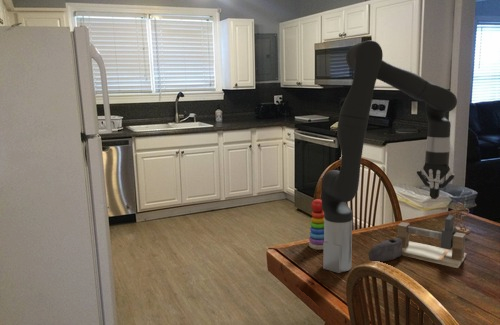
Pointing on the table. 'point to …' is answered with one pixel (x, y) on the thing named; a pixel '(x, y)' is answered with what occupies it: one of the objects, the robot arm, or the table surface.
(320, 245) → the stacking toy
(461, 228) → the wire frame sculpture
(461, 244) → the pipe stand
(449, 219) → the collar
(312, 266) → the table surface
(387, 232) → the table surface
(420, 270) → the table surface
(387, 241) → the perforated stone tool
